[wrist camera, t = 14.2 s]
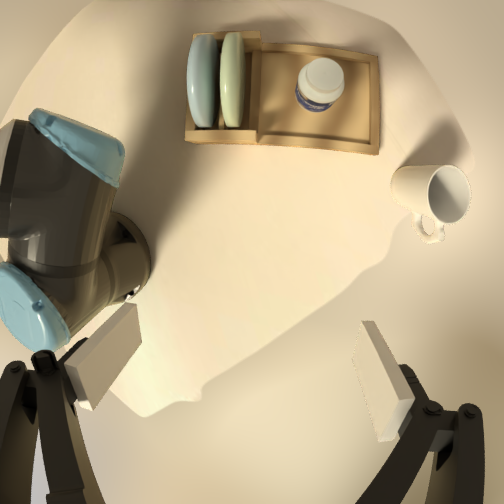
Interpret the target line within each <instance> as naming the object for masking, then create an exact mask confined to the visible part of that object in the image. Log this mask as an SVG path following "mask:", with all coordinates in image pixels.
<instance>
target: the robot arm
mask: <svg viewBox="0 0 504 504" xmlns="http://www.w3.org/2000/svg"><path fill="white" fill-rule="evenodd" d="M28 120H30V121H24V120H17V119H13V120H11V121H10V122H9V123H7V124H6V125H5V126H3V127H2V128H1V129H0V238H9V241H8V259H7V261H6V262H1V263H0V318H1V319H2V321H3V322H4V324H5V326H6V327H7V328H8V330H9V331H10V332H11V333H12V335H13V336H14V337H15V338H16V339H17V340H18V341H19V342H20V343H21V344H23V345H24V346H25V347H27V348H28V349H30V350H31V351H33V352H36V353H34V354H33V355H32V357H31V361H32V364H33V366H34V369H35V370H27V368H26V365H25V363H24V362H22V361H13V362H11V363H9V364H8V365H7V366H6V367H5V369H4V372H3V374H2V376H1V378H0V504H31V485H32V472H33V463H34V455H35V448H36V441H37V435H38V429H39V431H40V440H41V448H42V454H43V460H44V465H45V471H46V476H47V481H48V485H49V490H50V493H49V494H46V502H47V504H105V502H104V499H103V497H102V494H101V492H100V489H99V486H98V484H97V481H96V478H95V476H94V473H93V470H92V467H91V463H90V460H89V457H88V454H87V451H86V447H85V444H84V440H83V436H82V433H81V429H80V425H79V421H78V416H77V412H76V408H75V406H74V402H75V401H76V399H78V401H79V404H80V406H81V407H83V408H86V409H88V410H91V411H93V410H94V409H95V408H96V406H97V405H98V403H99V402H100V400H101V399H102V397H103V396H104V395H105V393H106V392H107V390H108V389H109V387H110V386H111V385H112V383H113V382H114V380H115V379H116V378H117V376H118V375H119V373H120V372H121V371H122V369H123V368H124V366H125V365H126V364H127V362H128V361H129V359H130V358H131V357H132V355H133V354H134V353H135V351H136V350H137V348H138V347H139V346H140V344H141V343H142V339H141V333H140V326H139V319H138V312H137V304H134V303H127V302H126V301H128V300H130V299H131V298H133V297H134V296H135V295H136V294H137V293H138V292H139V291H140V290H141V289H142V288H143V287H144V286H145V284H146V282H147V280H148V277H149V274H150V267H151V259H150V252H149V248H148V245H147V242H146V240H145V238H144V236H143V234H142V233H141V231H140V230H139V229H138V227H137V226H136V225H135V224H134V223H133V222H132V221H131V220H129V219H128V218H127V217H125V216H123V215H121V214H119V213H115V212H110V211H111V207H112V203H113V200H114V196H115V193H116V190H117V188H119V177H120V173H121V169H122V166H123V162H124V158H125V149H124V146H123V144H122V143H121V142H120V141H119V140H118V139H116V138H115V137H113V136H111V135H109V134H107V133H104V132H102V131H100V130H97V129H95V128H93V127H90V126H88V125H85V124H83V123H80V122H78V121H75V120H73V119H70V118H67V117H65V116H62V115H59V114H56V113H53V112H50V111H47V110H44V109H41V108H36V109H34V110H33V111H32V113H31V114H30V115H29V118H28ZM123 302H125V303H124V304H123V305H122V306H121V307H120V308H119V309H118V310H117V311H116V312H115V313H114V314H113V315H112V316H111V317H110V318H109V319H108V320H107V321H106V322H105V323H104V324H103V325H102V326H100V327H99V328H98V329H97V330H96V331H95V332H94V333H93V334H92V335H91V336H90V337H89V338H86V337H85V338H83V339H81V340H79V341H78V342H77V343H76V344H75V345H74V346H73V348H71V349H70V350H69V351H67V352H66V354H65V355H64V356H62V358H61V359H60V360H59V361H57V360H56V357H55V354H54V352H55V351H56V350H58V349H60V348H61V347H62V346H64V345H66V344H68V343H69V342H70V340H71V338H72V337H73V336H74V335H75V334H76V333H77V332H79V331H80V330H81V329H82V328H83V327H84V326H85V325H86V324H87V323H88V322H89V321H90V320H92V319H93V318H94V317H95V316H96V315H97V314H98V313H99V312H100V311H102V310H103V309H104V308H105V307H106V306H110V305H114V304H119V303H123ZM352 361H353V364H354V367H355V370H356V372H357V376H358V379H359V382H360V384H361V388H362V391H363V394H364V397H365V400H366V403H367V406H368V410H369V413H370V416H371V419H372V423H373V426H374V429H375V433H376V436H377V440H378V442H382V441H390V440H394V438H395V436H396V434H397V433H399V436H400V440H399V442H398V443H397V445H396V446H395V448H394V449H393V451H392V453H391V454H390V456H389V457H388V459H387V460H386V462H385V464H384V465H383V466H382V468H381V470H380V471H379V473H378V474H377V475H376V477H375V478H374V479H373V481H372V482H371V484H370V485H369V486H368V488H367V489H366V490H365V492H364V493H363V494H362V495H361V497H360V498H359V499H358V501H357V502H356V503H355V504H400V503H401V502H402V500H403V498H404V497H405V495H406V493H407V492H408V490H409V488H410V486H411V485H412V483H413V481H414V479H415V477H416V475H417V473H418V471H419V469H420V468H421V466H422V463H423V462H424V460H425V457H426V455H427V453H428V451H432V452H434V458H433V465H432V471H431V477H430V482H429V487H428V492H427V497H426V501H425V504H483V496H484V477H485V455H484V453H485V450H484V430H483V418H482V412H481V410H480V409H479V408H478V407H477V406H476V405H474V404H470V403H466V404H463V405H461V406H460V407H459V409H458V411H446V410H443V407H442V406H441V405H440V404H439V403H437V402H435V401H431V400H429V398H428V396H427V394H426V392H425V391H424V389H423V387H422V385H421V384H420V383H419V380H418V378H416V377H417V376H416V375H415V373H414V371H413V370H412V369H411V368H410V367H409V366H408V365H406V364H402V365H398V364H397V362H396V360H395V358H394V357H393V354H392V353H391V351H390V349H389V347H388V345H387V344H386V342H385V340H384V338H383V336H382V335H381V333H380V331H379V329H378V328H377V326H376V324H375V322H374V321H361V325H360V330H359V334H358V338H357V342H356V346H355V350H354V354H353V358H352Z"/></svg>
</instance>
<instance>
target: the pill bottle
mask: <svg viewBox="0 0 504 504" xmlns="http://www.w3.org/2000/svg"><path fill="white" fill-rule="evenodd" d="M343 90H344V74H343V70H342V68H341V67H340V66H339V64H338V63H336V62H335V61H333V60H331V59H328V58H318V59H315V60H313V61H312V62H310V63H308V64H306V65H305V66H304V67H303V68H302V69H301V71H300V73H299V75H298V80H297V85H296V88H295V98H296V100H297V102H298V104H299V105H300V106H301V107H302V108H303V109H305V110H306V111H309V112H312V113H320V112H323V111H326V110H327V109H329V108H330V107H331V106H332V104H333V103H334V102H335V101H336V100H337V99H338V98H339V97H340V96H341V94H342V92H343Z"/></svg>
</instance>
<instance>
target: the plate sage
mask: <svg viewBox="0 0 504 504" xmlns="http://www.w3.org/2000/svg"><path fill="white" fill-rule="evenodd" d="M245 91H246V60H245V48H244V41H243V37H242V34H241V33H240V32H230V33H227V34H226V36H225V39H224V42H223V47H222V54H221V65H220V93H221V105H222V112H223V117H224V120H225V123H226V125H227V126H228V127H240V125H241V123H242V119H243V113H244V105H245Z"/></svg>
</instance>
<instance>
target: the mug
mask: <svg viewBox="0 0 504 504" xmlns="http://www.w3.org/2000/svg"><path fill="white" fill-rule="evenodd" d="M390 190H391V194H392V196H393V198H394V200H395V201H396V202H397V203H398V204H399V205H400V206H402V207H404V208H407V209H409V210H410V211H411V213H412V221H411V225H412V227H413V228H414V230H415V231H416V233H417V234H418V236H419V237H420V238H421V239H422V240H423V241H424V242H426V243H428V244H433V243H436V242H439V241H444V235H445V233H444V229H443V228H444V224H445V225H453V224H456V223H458V222H459V221H461V220H462V219H463V218H464V216H465V215H466V213H467V211H468V209H469V207H470V203H471V188H470V184H469V181H468V179H467V177H466V175H465V174H464V173H463V171H462V170H460V169H459V168H458V167H456V166H454V165H420V166H405V167H401V168H399V169H398V170H397V171H396V172H395V173H394V175H393V176H392V179H391V183H390ZM422 215H424V216H426V217H429V218H431V219H432V220H433V221H434V232H433V233H432V235H428V234H427V233H426V232H425V231H424V229H423V226H422Z"/></svg>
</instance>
